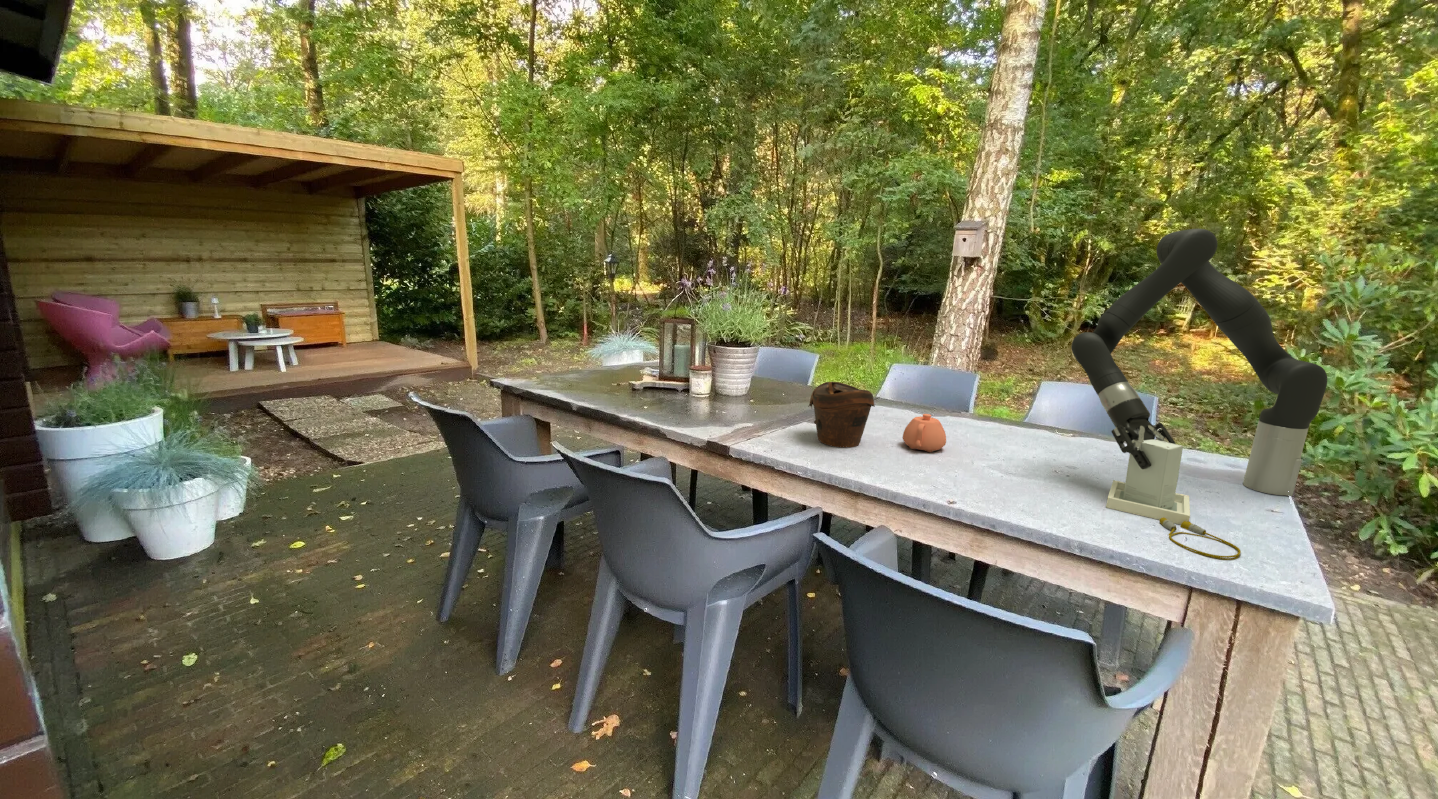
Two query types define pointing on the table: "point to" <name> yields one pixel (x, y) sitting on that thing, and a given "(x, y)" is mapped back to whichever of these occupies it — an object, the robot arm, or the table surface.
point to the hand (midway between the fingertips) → (1160, 466)
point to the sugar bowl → (924, 434)
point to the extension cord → (1199, 530)
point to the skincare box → (1154, 475)
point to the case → (840, 413)
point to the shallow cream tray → (1174, 514)
